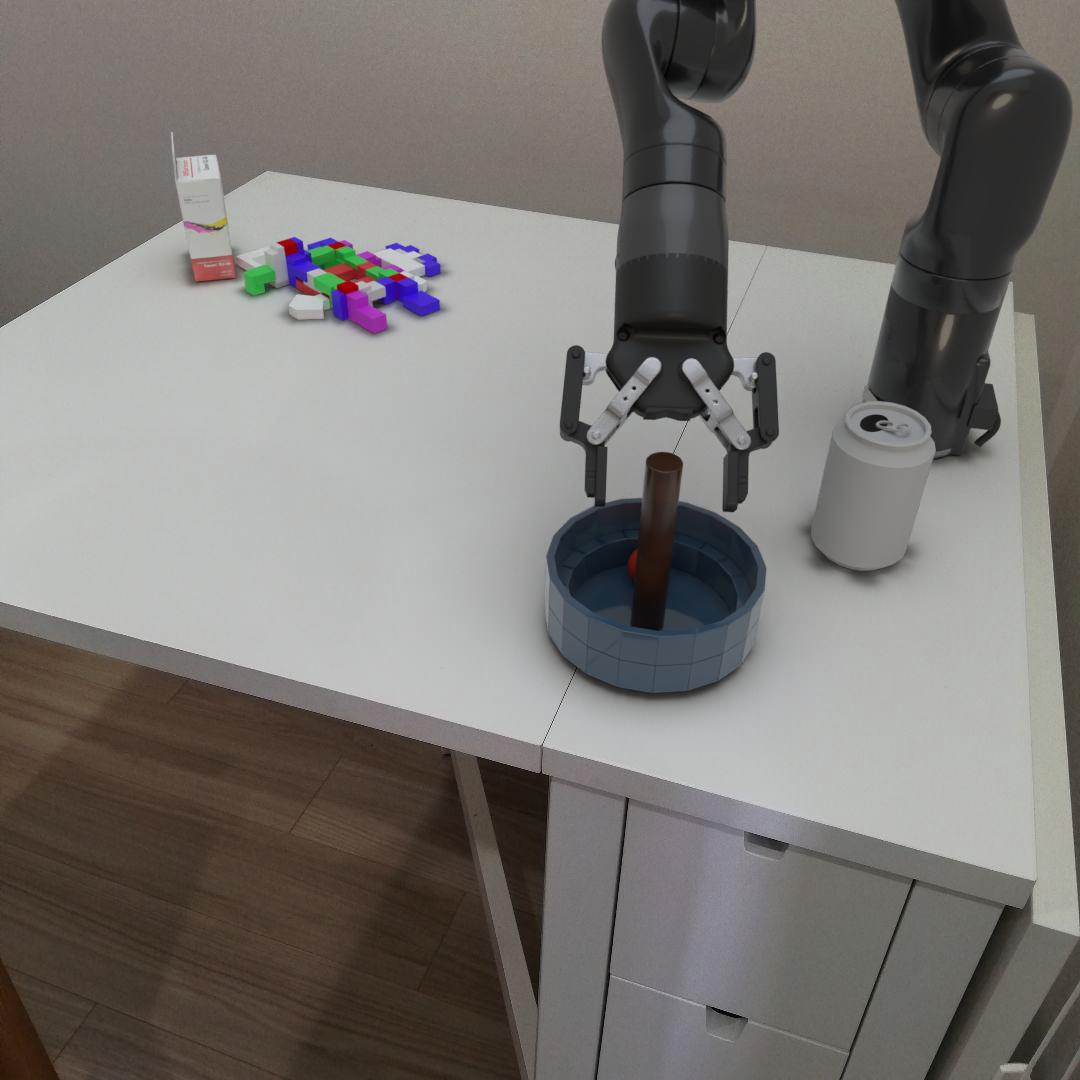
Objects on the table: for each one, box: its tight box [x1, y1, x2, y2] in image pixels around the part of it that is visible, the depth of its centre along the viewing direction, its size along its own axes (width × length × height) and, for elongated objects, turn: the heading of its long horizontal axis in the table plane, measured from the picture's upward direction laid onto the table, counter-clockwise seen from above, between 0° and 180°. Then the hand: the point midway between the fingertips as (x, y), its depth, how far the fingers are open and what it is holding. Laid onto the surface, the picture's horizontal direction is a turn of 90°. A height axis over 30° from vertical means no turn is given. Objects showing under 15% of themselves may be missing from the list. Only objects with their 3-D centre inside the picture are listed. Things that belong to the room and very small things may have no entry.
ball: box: [628, 550, 637, 580], centre depth 79 cm, size 3×3×3 cm
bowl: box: [544, 497, 767, 694], centre depth 76 cm, size 15×15×6 cm
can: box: [810, 401, 936, 572], centre depth 81 cm, size 8×8×12 cm
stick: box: [631, 451, 684, 631], centre depth 72 cm, size 2×2×14 cm
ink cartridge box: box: [170, 131, 237, 282], centre depth 121 cm, size 9×5×15 cm, turn 17°
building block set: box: [235, 236, 442, 334], centre depth 121 cm, size 25×20×4 cm
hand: (665, 507), depth 69 cm, fingers open, 8 cm apart
